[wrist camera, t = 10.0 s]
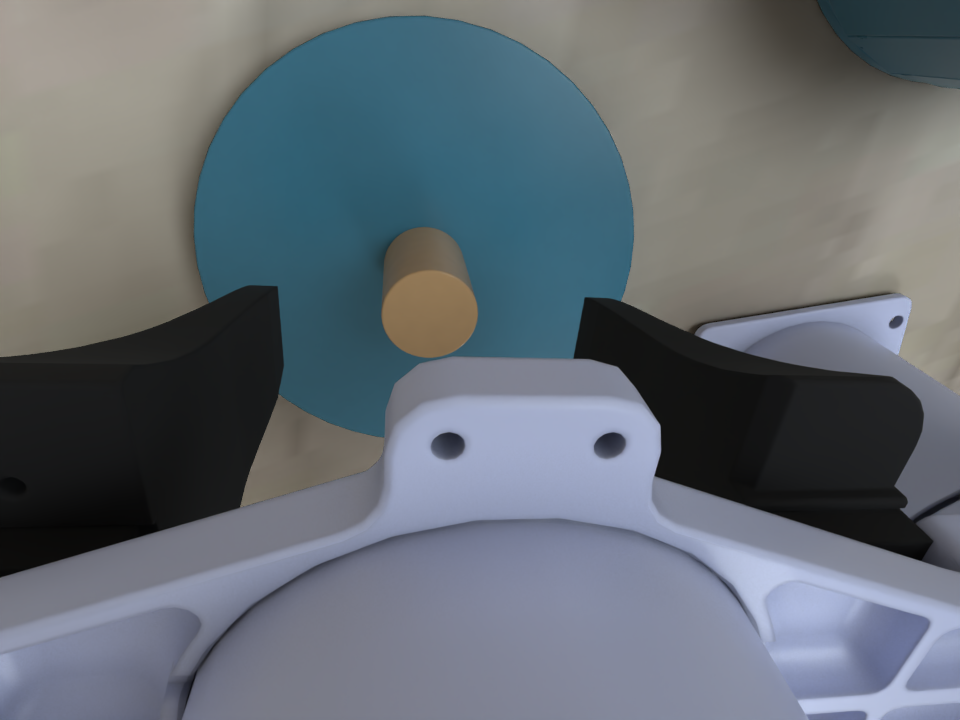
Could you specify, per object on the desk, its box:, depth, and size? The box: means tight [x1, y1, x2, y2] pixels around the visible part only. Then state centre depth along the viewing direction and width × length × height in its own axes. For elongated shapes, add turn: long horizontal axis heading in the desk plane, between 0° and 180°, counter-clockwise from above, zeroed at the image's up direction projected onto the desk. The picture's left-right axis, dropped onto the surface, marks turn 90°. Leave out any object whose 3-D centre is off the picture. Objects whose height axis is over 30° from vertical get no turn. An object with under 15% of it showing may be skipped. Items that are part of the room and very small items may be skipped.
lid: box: [194, 16, 634, 437], centre depth 17 cm, size 13×13×5 cm
